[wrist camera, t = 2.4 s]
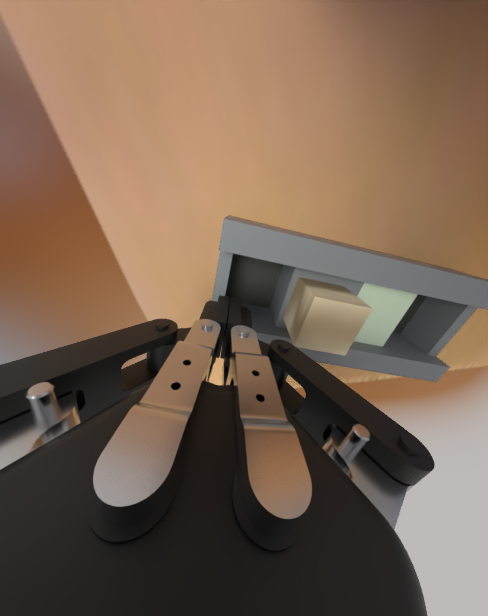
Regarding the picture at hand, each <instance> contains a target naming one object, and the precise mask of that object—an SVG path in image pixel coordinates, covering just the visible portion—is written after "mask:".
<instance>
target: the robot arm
mask: <svg viewBox="0 0 488 616" xmlns="http://www.w3.org/2000/svg"><path fill="white" fill-rule="evenodd" d="M229 299H230V302H229ZM222 342H223V343H222ZM221 347H222V350H221ZM146 352H147V358H146V359H144V360H142V361H139V362H137V363H135V364H133V365H130V366H128V367H126V368H124V369H121V367H122V365H123V364H124V363H125V362H126V361H128V360H129V359H132V358H134V357H136V356H139V355H141V354H144V353H146ZM220 352H221V357H220V358H223V359H224V364H223V368H222V385H221V386H219V385H215V384H212V383H210V382H209V380H210V376H211V373H212V369H213V364H214V363H215V361H216V357H217V358H219V356H220ZM288 374H289V375H290V376H291V377H292V378H293V379H294V380H295V381H297V382H298V383H299V384H300V385H301V386H302V387H303V388H304V390H305V392H306V398H305V399H304V398H303V397H302V396H301V395H300V394H299V393H298V392H297V391H296V390H295V389H294V388H293V387H292V386H291V385H289V384H288V383H287V382H286V378H287V376H288ZM433 469H434V461H433V458H432V456H431V454H430V453H429V451H428V450H427V448H426V447H425V446H424V445H423V444H422V443H421V442H420V441H419V440H418V439H417V438H416V437H415V436H413V435H412V434H411V433H409V432H408V431H407V430H405V429H404V428H403V427H401V426H400V425H399V424H397V423H396V422H395V421H393V420H392V419H391V418H389V417H388V416H387V415H385V414H384V413H383V412H381V411H380V410H379V409H377V408H376V407H375V406H373V405H372V404H371V403H369V402H368V401H367V400H365V399H364V398H363V397H361V396H360V395H359V394H357V393H356V392H355V391H353V390H352V389H351V388H349V387H348V386H347V385H345V384H344V383H343V382H342V381H340V380H339V379H338V378H336V377H335V376H334V375H332V374H331V373H330V372H328V371H327V370H326V369H324V368H323V367H322V366H320V365H319V364H318V363H316V362H315V361H314V360H312V359H311V358H310V357H308V356H307V355H306V354H304V353H303V352H302V351H300V350H299V349H298V348H296V347H295V346H294V345H292V344H291V343H289V342H287V341H285V340H280V339H276V340H273V341H272V342H271V344H267V343H265V342H262V341H260V340H259V339H258V338H257V334H256V332H255V331H254V330H253V329H252V320H251V311H250V310H249V309H248V308H247V307H242V306H241V299H237V298H232V297H231V298H230V297H227V296H222V295H219V298H218V302H216V301H211V300H210V301H208V302H207V303H206V304H205V306H204V309H203V312H202V314H201V317H200V319H199V320H197V321H196V322H195V323H194V324H193V326H192V327H191V328H181V329H178V326H177V324H176V323H175V322H174V321H172V320H169V319H156V320H152V321H149V322H145V323H142V324H139V325H135V326H132V327H128V328H125V329H122V330H118V331H115V332H111V333H108V334H105V335H101V336H98V337H94V338H91V339H87V340H84V341H81V342H77V343H74V344H71V345H67V346H64V347H60V348H57V349H54V350H50V351H47V352H43V353H40V354H37V355H33V356H30V357H26V358H23V359H20V360H16V361H13V362H10V363H6V364H3V365H0V616H427V611H426V606H425V602H424V597H423V593H422V589H421V586H420V583H419V580H418V577H417V575H416V572H415V569H414V566H413V564H412V562H411V560H410V558H409V555H408V553H407V551H406V550H405V548H404V546H403V544H402V542H401V540H400V539H399V537H398V535H397V534H396V533H395V531H394V528H395V525H396V522H397V519H398V516H399V512H400V509H401V506H402V503H403V500H404V497H405V494H406V492H407V491H408V490H409V489H410V488H412V487H413V486H414V485H415V484H416V483H417V482H419V481H420V480H421V479H422V478H424V477H425V476H426V475H427V474H428V473H430V472H431V471H432V470H433Z"/></svg>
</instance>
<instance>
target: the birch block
mask: <svg viewBox="0 0 488 616" xmlns="http://www.w3.org/2000/svg"><path fill="white" fill-rule="evenodd" d="M372 309H373V308H371V307H370V306H369V305H367V304H366V303H365V302H364V301H362V300H361V299H360V298H358V297H357V296H356V295H354V294H353V293H352V292H351V291H349V290H348V289H347V288H345V287H344V286H340V285H335V284H330V283H326V282H321V281H317V280H312V279H307V278H303V277H298V279H297V282H296V285H295V287H294V290H293V293H292V296H291V298H290V301H289V304H288V307H287V310H286V312H285V315H284V318H283V319H284V322H285V324H286V327H287V330H288V332H289V335H290V338H291V340H292V343H293V345H294V346H295V347H299V348H304V349H310V350H316V351H322V352H327V353H333V354H339V355H344V356H345V355H346V353H347V352H348V350H349V348H350V347H351V345H352V343H353V342H354V340H355V338H356V336H357V335H358V333H359V331H360V330H361V328H362V326H363V324H364V323H365V321H366V319H367V318H368V316H369V314H370V313H371V311H372Z"/></svg>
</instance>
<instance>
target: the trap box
mask: <svg viewBox="0 0 488 616" xmlns="http://www.w3.org/2000/svg"><path fill="white" fill-rule="evenodd" d="M219 250H220V254H219V261H218V267H217V273H216V279H215V285H214V291H213V298H212V301H216V302H218V298H219V295H222V296H227V297H230V298H231V297H232V298H237V299H241V306H242V307H247V308H248V309H249V310H250V311H251V320H252V329H253V330H254V331H255V332H256V334H257V338H258V339H259V340H260V341H262V342H265V343H267V344H271V342H272V341H273V340H276V339H280V340H285V341H287V342H289V343H291V344H292V345H293V343H292V340H291V338H290V335H289V332H288V330H287V327H286V324H285V322H284V319H283V318H284V315H285V312H286V310H287V307H288V304H289V301H290V298H291V296H292V293H293V290H294V287H295V285H296V282H297V279H298V277H303V278H307V279H312V280H317V281H321V282H326V283H330V284H335V285H340V286H344V287H345V288H347V289H348V290H349V291H351V292H352V293H353V294H354V295H356V296H357V297H358V298H360V299H361V300H362V301H364V302H365V303H366V304H367V305H369V306H370V307H371V308H373V309H372V311H371V313H370V314H369V316H368V318H367V319H366V321H365V323H364V324H363V326H362V328H361V330H360V331H359V333H358V335H357V336H356V338H355V340H354V342H353V343H352V345H351V347H350V348H349V350H348V352H347V353H346V355H345V356H344V355H339V354H333V353H327V352H322V351H316V350H310V349H304V348H299V347H296V348H298V349H299V350H300V351H302V352H303V353H304V354H306V355H307V356H308V357H310V358H311V359H312V360H314V361H315V362H320V363H326V364H332V365H338V366H344V367H350V368H356V369H362V370H368V371H373V372H379V373H385V374H391V375H397V376H403V377H409V378H415V379H421V380H427V381H433V382H437V381H438V379H439V378H440V377H441V376H442V375H443V374H444V373H445V372H446V371H447V370H448V369H449V368H450V367H449V366H448V365H446V364H445V363H444V362H443V361H441V360H440V359H439V358H437V357H436V356H437V355H438V353H439V352H440V351H441V350H442V349H443V348H444V346H445V345H446V344H447V343H448V342H449V341H450V340H451V338H452V337H453V336H454V335H455V334H456V333H457V331H458V330H459V329H460V328H461V327H462V326H463V324H464V323H465V322H466V321H467V320H468V319H469V317H470V316H471V315H472V314H473V313H474V312H475V310H476V309H477V308H482V309H487V310H488V280H486V279H483V278H479V277H476V276H472V275H469V274H466V273H462V272H459V271H456V270H452V269H448V268H444V267H440V266H436V265H431V264H427V263H423V262H419V261H415V260H411V259H407V258H402V257H398V256H394V255H390V254H386V253H382V252H378V251H374V250H369V249H365V248H361V247H357V246H353V245H349V244H345V243H341V242H336V241H332V240H328V239H324V238H320V237H316V236H312V235H307V234H303V233H299V232H295V231H291V230H287V229H283V228H279V227H274V226H270V225H266V224H262V223H258V222H254V221H250V220H246V219H241V218H237V217H233V216H227V217H226V218H224V220H223V226H222V233H221V239H220V245H219ZM229 302H230V299H229ZM222 343H223V342H222Z"/></svg>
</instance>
